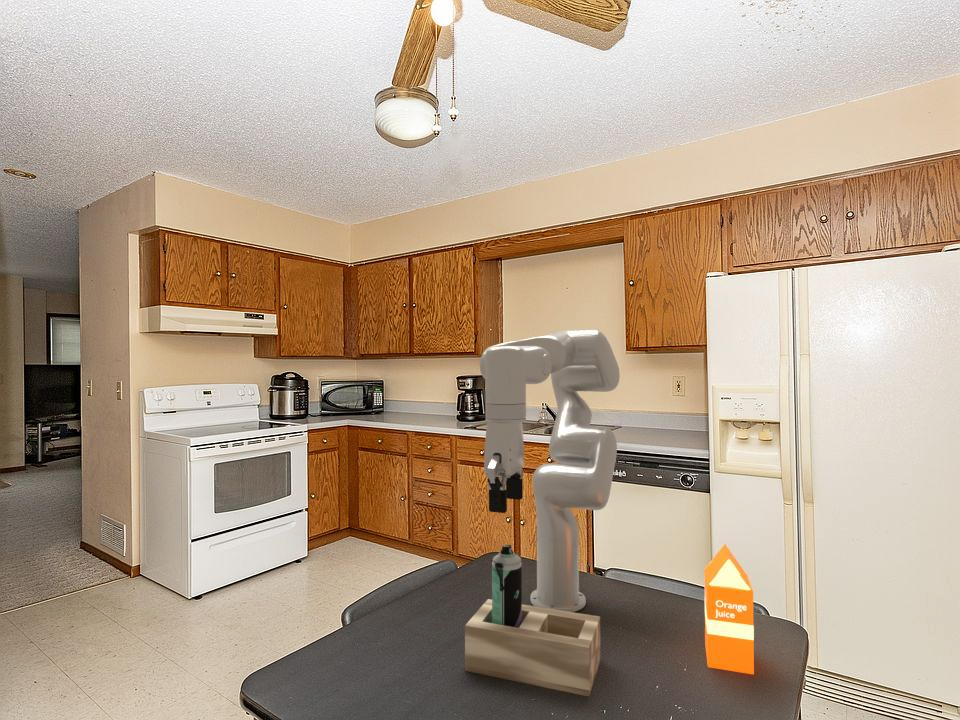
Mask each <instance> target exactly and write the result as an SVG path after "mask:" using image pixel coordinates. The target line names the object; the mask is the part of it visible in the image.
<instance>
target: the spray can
mask: <svg viewBox="0 0 960 720" xmlns="http://www.w3.org/2000/svg"><path fill="white" fill-rule="evenodd" d="M522 565H523V562H522V558H521V557H520V556H519V555H517V554H516V553H515V551H513V550H512V544H505V545H502V546H501V550H500V551H499V552H498V554H496V555H493V556H492V562H491V600H492V623H493V624H499V625H505V626H510V627H516V628H519V627H520V625H521V624H522V604H523V603H522V601H523V600H522V599H523V596H522V595H523V594H522V593H523V592H522V591H523V590H522V585H523V583H522V582H523V581H522V577H523V576H522V575H523V574H522V573H523V572H522V571H523V570H522V567H523V566H522Z"/></svg>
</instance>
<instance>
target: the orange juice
mask: <svg viewBox="0 0 960 720" xmlns="http://www.w3.org/2000/svg"><path fill="white" fill-rule="evenodd" d="M703 572H704V586H703V587H704V591H703V592H704V598H703V599H704V625H705V626H704V640H705V641H704V644H705V645H704V646H705V655H706V662H707V668H711V669H716V670H717V669H718V670H725V671H729V672H730V671H731V672H737V673H742V674H747V675H748V674H749V675H755V666H754V665H755V664H754V663H755V661H754V660H755V655H754V652H755V651H754V648H755V645H754V644H755V641H754V638H755V626H754V625H755V624H754V590H753V587H752V583H751V581H750V579H749V576H748V573H747V572H745V570H744V569H743V567H742V566H741V565H740V563H739V562H738V560H737V559H736V557H735V555H733V553H732V552H731V551H730V549H729V548H728V546H727V543H726V542H725V543H724V544H723V546H722V547H721V548H720V549H719V551H717V553H716V554H715V555H714V557H713V558H712V559H711V561H710V562H709V563H708V564H707V565H706V567H704V569H703Z"/></svg>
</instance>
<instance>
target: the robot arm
mask: <svg viewBox="0 0 960 720" xmlns="http://www.w3.org/2000/svg"><path fill="white" fill-rule="evenodd" d="M616 358H617V357H615V353H614V352H613V348H612V347H611V345H610V342H609V341H608V338H607V337H606V335H604V333H603V332H601V331H599V330H596V329H581V330H580V329H577V330H575V329H574V330H573V329H571V330H560V331H559V330H558V331H556V332H555V331H554V332H551V333H549V334H546V335H542V336H535V337H530V338H526V339H519V340H514V341H508V342H502V343H498V344H494V345H492V346H491V345H490V346H488V347H487V348H486V349H485V350H484V351H483V353H482V354H481V357H480V360H479V370H480V371H479V372H480V375H481V376H482V377H483V379H484V380H485V381H484V384H485V385H484V386H485V387H484V389H485V392H484V393H485V422H487V423H486V429H485V439H484V440H485V441H484V461H483V462H484V465H483V466H484V467H483V472H484V475H485V476H486V477H487V483H488V485H487V489H488V511H489V512H490V513H498V514H499V513H500V514H506V513H507V511H508V499H510V500H517V501H520V500H523V498H524V496H523V495H524V494H523V493H524V492H523V491H524V489H523V488H524V487H523V486H524V485H523V483H524V482H523V481H524V480H523V478H524V477H523V476H524V473H523V467H524V463H525V461H524V459H525V453H524V452H525V451H524V449H525V445H524V428H523V423H524V422H527V385H537V384H541V383H543V382H545V381H546V380H548V378H549V377H550V379H551V384H552V389H553V394H554V397H555V401H556V405H557V412H556V416H555V421H554V425H553V427H552V431H551V434H550V440H549V444H548V455H549V457H550V458H551V460H553V462H554V463H551V462H549V463H544V464H541V465H539V466H538V467H537V468H536V469H535V471H534V472H533V475H532V491H533V497H534V503H535V511H536V589H534V590H533V591H532V592H531V593H530V596H529V597H530V600H529V601H530V603H531V604H532V606H536V607H542V608H548V609H555V610H561V611H568V612H574V613H576V612H578V611H580V610H582V609H583V608H585V606H586V603H587V601H586V600H587V599H586V596H585V595H584V593H582V592H581V591H580V577H579V576H580V574H579V573H580V570H579V569H580V568H579V567H580V565H579V564H580V561H579V559H580V558H579V556H580V554H579V552H580V551H579V550H580V547H579V544H580V543H579V542H580V541H579V539H580V538H579V530H580V529H579V524H578V520H577V517H576V516H575V514H574V513H573V511H572V510H571V508H573V509H579V510H589V511H600V510H603V509H604V508H605V507H606V506H607V504H608V501H609V498H610V495H611V489H612V484H613V483H612V482H613V477H614V471H615V467H616V462H617V455H618V453H617V452H618V445H617V444H618V443H617V439H616V435H615V433H614V431H612V430H611V429H610V428H608V427H604V426H599V425H598V426H595V425H591V423H592V422H591V421H592V418H593V417H592V416H593V414H592V411H591V409H590V407H589V405H588V404H587V402H586V400H584V399H583V398H582V397H581V395H580V394H579V393H578V392H595V393H596V392H602V393H603V392H604V393H606V392H608V393H609V392H612V391H614V390H616V388H617V387H618V385H619V383H620V378H621V377H620V376H621V374H620V368H619V364H618V361H617V359H616Z"/></svg>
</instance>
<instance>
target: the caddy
mask: <svg viewBox="0 0 960 720" xmlns="http://www.w3.org/2000/svg"><path fill="white" fill-rule="evenodd" d="M600 663H601V616H599V615H592V614H585V613H580V612H579V613H578V612H568V611H561V610H555V609H548V608H542V607H536V606H534V605H530V604H529V605H528V604H523V603H522V624H521V625H520V627H519V628H516V627H510V626H505V625H499V624H493V623H492V598H491V599H490V598H487V599H486V601H485V602H484V603H483V604H482V605H481V606H480V608H479V609H478V610H477V611H475V614H473V616H472V617H471V618H470V619H468V621H467V622H466V624H465V625H464V670H465V672H470V673H475V674H479V675H484V676H489V677H494V678H498V679H503V680H508V681H513V682H518V683H522V684H527V685H532V686H537V687H542V688H545V689H546V688H547V689H550V690H551V689H552V690H555V691H560V692H563V693H564V692H566V693H570V694H575V695H579V696H584V697H590V695H591V691H592V688H593V684H594V682H595V678H596V676H597V673H598V669H599V666H600Z"/></svg>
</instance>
